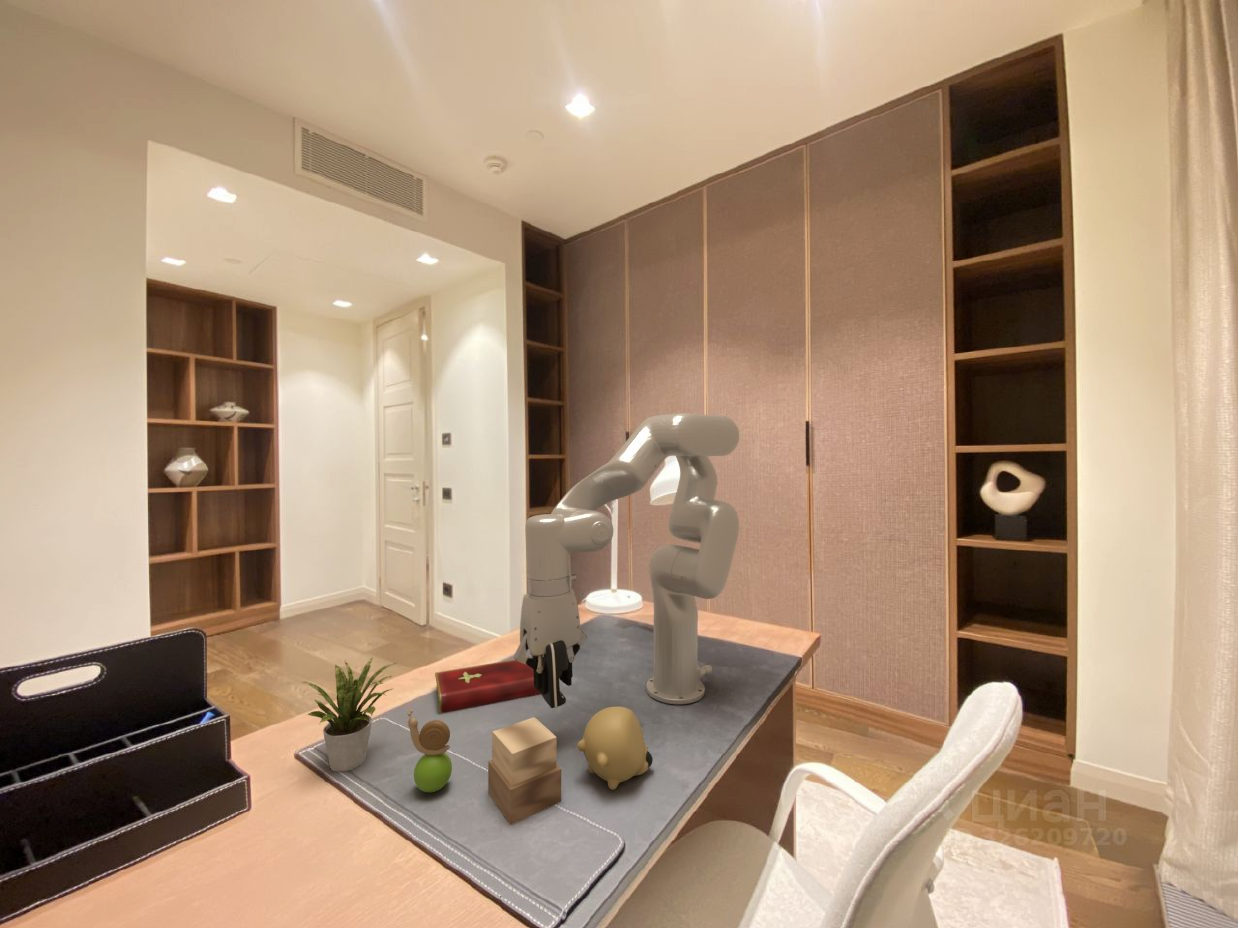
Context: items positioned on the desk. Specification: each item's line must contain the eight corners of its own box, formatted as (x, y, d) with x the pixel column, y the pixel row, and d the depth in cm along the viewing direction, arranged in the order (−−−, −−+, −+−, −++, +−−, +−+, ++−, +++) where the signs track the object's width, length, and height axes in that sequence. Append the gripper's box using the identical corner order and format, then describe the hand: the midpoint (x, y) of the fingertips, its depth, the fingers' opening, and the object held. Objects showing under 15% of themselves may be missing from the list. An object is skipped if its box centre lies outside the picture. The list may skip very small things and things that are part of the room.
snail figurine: (413, 778, 77) (414, 702, 77) (455, 776, 78) (455, 700, 78) (401, 802, 72) (401, 720, 72) (446, 799, 72) (446, 718, 72)
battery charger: (572, 704, 85) (569, 639, 85) (551, 711, 84) (547, 645, 83) (558, 687, 91) (555, 627, 91) (538, 693, 90) (535, 631, 89)
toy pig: (636, 813, 75) (674, 748, 80) (596, 777, 69) (639, 710, 74) (597, 778, 82) (634, 721, 87) (558, 743, 77) (600, 684, 82)
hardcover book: (543, 696, 105) (543, 676, 105) (439, 716, 97) (439, 695, 97) (529, 673, 116) (529, 655, 116) (435, 690, 108) (435, 671, 108)
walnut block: (536, 774, 79) (536, 743, 79) (561, 802, 72) (561, 768, 72) (488, 794, 74) (488, 760, 74) (510, 826, 68) (510, 789, 68)
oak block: (534, 745, 78) (534, 716, 78) (556, 767, 73) (556, 736, 72) (492, 761, 74) (492, 731, 74) (512, 786, 68) (512, 753, 68)
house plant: (421, 746, 86) (421, 653, 86) (354, 798, 73) (355, 688, 73) (358, 731, 90) (358, 643, 90) (285, 777, 77) (285, 673, 77)
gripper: (579, 572, 94) (583, 665, 95) (495, 590, 85) (500, 694, 85) (601, 580, 88) (604, 680, 89) (513, 600, 79) (518, 712, 79)
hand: (553, 685), depth 87 cm, fingers closed on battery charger, 4 cm apart
